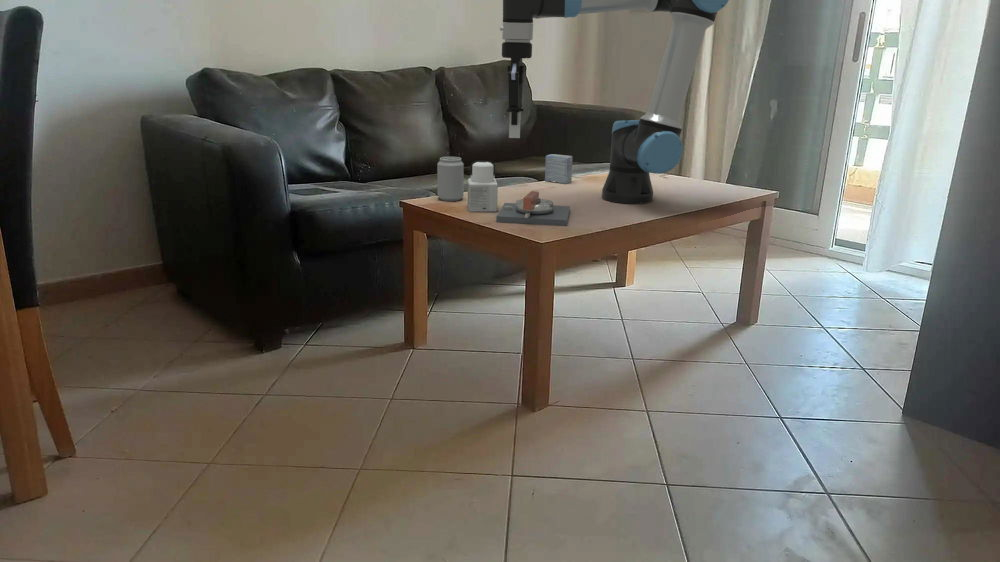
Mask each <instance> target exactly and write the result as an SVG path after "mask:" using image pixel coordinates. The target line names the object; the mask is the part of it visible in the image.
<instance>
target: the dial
mask: <svg viewBox="0 0 1000 562" xmlns="http://www.w3.org/2000/svg"><path fill="white" fill-rule="evenodd" d="M515 203H516V211H518V212H520V213H525V214H526V213H530V214H548V213H552V212H553V209H554V205H555V203H554V201H552V200H549V199H544V198H540V191H536V190H534V191H533V190H531V191H530V192H528V193H527V194H526V195H525V196H524V197H522V198H521V199H517V200H516V201H515Z"/></svg>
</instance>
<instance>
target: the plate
mask: <svg viewBox="0 0 1000 562" xmlns="http://www.w3.org/2000/svg"><path fill="white" fill-rule="evenodd" d="M570 212H571V206H570V205H555V204H554V209H553V212H552V213H548V214H530V213H526V214H525V213H520V212H518V211H516V202H504V203H503V205H502V207H501V208H500V210H499V212H498V213H497V215H496V217H495V220H496V221H495V222H496V223H510V224H528V225H540V226H541V225H544V226H559V227H560V226H561V227H562V226H563V227H567V226H568V222H569V217H570Z"/></svg>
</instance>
